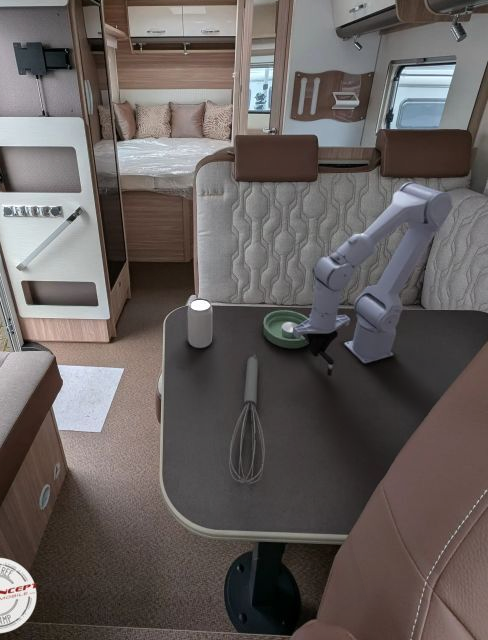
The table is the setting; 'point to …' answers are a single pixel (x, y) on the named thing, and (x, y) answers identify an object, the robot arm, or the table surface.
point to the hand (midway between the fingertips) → (316, 353)
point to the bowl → (274, 328)
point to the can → (200, 323)
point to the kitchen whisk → (249, 404)
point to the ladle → (288, 332)
